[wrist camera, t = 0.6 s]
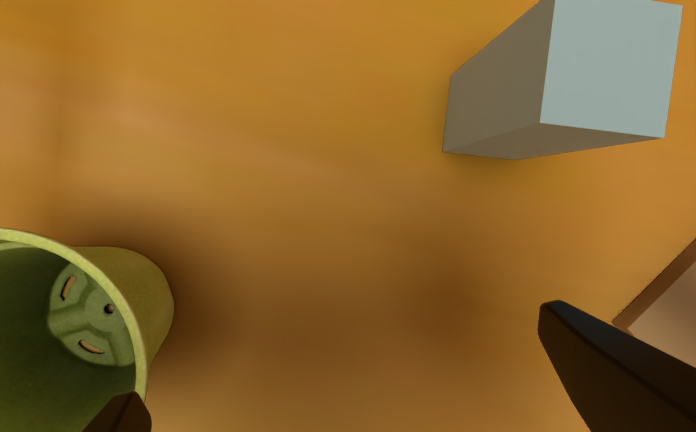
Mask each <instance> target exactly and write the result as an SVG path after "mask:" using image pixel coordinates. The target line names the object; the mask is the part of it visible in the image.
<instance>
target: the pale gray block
mask: <svg viewBox="0 0 696 432" xmlns="http://www.w3.org/2000/svg"><path fill="white" fill-rule="evenodd" d="M682 8H683V5H676V4H670V3H663V2H656V1H650V0H540V1H539V2H538V3H537V4H535V5H534V6H533V7H532V8H531V9H530V10H528V11H527V12H526V13H525V14H524V15H522V16H521V17H520V18H519V19H518V20H516V21H515V22H514V23H513V24H512V25H510V26H509V27H508V28H507V29H506V30H504V31H503V32H502V33H501V34H500V35H498V36H497V37H496V38H495V39H494V40H493V41H491V42H490V43H489V44H488V45H487V46H485V47H484V48H483V49H482V50H481V51H479V52H478V53H477V54H476V55H475V56H473V57H472V58H471V59H470V60H469V61H467V62H466V63H465V64H464V65H463V66H461V67H460V68H459V69H458V70H457V71H456V72H454V73H453V74H452V75H451V80H450V89H449V97H448V106H447V115H446V123H445V132H444V140H443V149H442V152H449V153H457V154H466V155H475V156H483V157H492V158H501V159H509V160H519V159H526V158H533V157H540V156H546V155H553V154H560V153H567V152H573V151H580V150H587V149H594V148H600V147H607V146H614V145H621V144H627V143H634V142H641V141H648V140H654V139H661V138H664V135H665V128H666V121H667V114H668V107H669V100H670V93H671V86H672V79H673V72H674V65H675V57H676V50H677V43H678V36H679V29H680V22H681V15H682Z"/></svg>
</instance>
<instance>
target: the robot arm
mask: <svg viewBox="0 0 696 432" xmlns="http://www.w3.org/2000/svg"><path fill="white" fill-rule="evenodd" d="M538 335H539V338H540V341H541V343H542V345H543V347H544V349H545V351H546V353H547V355H548V357H549V358H550V360H551V362H552V364H553V366H554V368H555V370H556V372H557V374H558V376H559V378H560V380H561V382H562V384H563V386H564V388H565V390H566V392H567V393H568V395H569V397H570V399H571V401H572V403H573V404H574V406H575V407H576V409H577V411H578V412H579V414H580V415H581V417H582V418H583V420H584V421H585V423H586V425H587V426H588V428H589V429H590V431H591V432H696V368H695V367H693V366H691V365H689V364H687V363H685V362H683V361H681V360H679V359H677V358H675V357H674V356H672V355H670V354H668V353H666V352H664V351H662V350H660V349H658V348H656V347H654V346H652V345H650V344H648V343H646V342H644V341H642V340H640V339H638V338H636V337H634V336H632V335H630V334H628V333H626V332H624V331H622V330H620V329H618V328H616V327H614V326H612V325H610V324H608V323H606V322H604V321H602V320H600V319H598V318H596V317H594V316H592V315H590V314H588V313H586V312H584V311H582V310H580V309H578V308H576V307H574V306H572V305H570V304H568V303H566V302H564V301H561V300H555V301H550V302H545V303H543V304H542V305H541V306H540V312H539V321H538ZM151 427H152V421H151V416H150V413H149V411H148V410H147V408H146V406H145V404H144V403H143V401H142V399H141V397H140V395H139V394H138V393H137V392H136V391H129V392H124V393H120V394H116V395H115V396H113V397H112V398H111V399H110V400H109V401H108V402H107V404H106V405H105V406H104V407H103V408H102V409H101V410H100V411H99V413H98V414H97V415H96V416H95V417H94V418H93V419H92V420H91V421H90V423H89V424H88V425H87V426H86V427H85V428H84V429H83V430H82V431H81V432H151Z"/></svg>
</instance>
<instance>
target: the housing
mask: <svg viewBox="0 0 696 432" xmlns="http://www.w3.org/2000/svg"><path fill="white" fill-rule="evenodd" d="M612 322H613V323H614V324H615V326H616V327H617V328H618V329H620V330H622V331H624V332H626V333H628V334H630V335H632V336H634V337H636V338H638V339H640V340H642V341H644V342H646V343H648V344H650V345H652V346H654V347H656V348H658V349H660V350H662V351H664V352H666V353H668V354H670V355H672V356H674V357H675V358H677V359H679V360H681V361H683V362H685V363H687V364H689V365H691V366H693V367H695V368H696V239H695V240H694V241H693V242H692V243H691V244H690V245H689V246H688V247H687V248H686V249H685V250H684V251H683V252H682V253H681V254H680V255H679V256H678V257H677V258H676V259H675V260H674V261H673V262H672V263H671V264H670V265H669V266H668V267H667V268H666V269H665V270H664V271H663V272H662V273H661V274H660V275H659V276H658V277H657V278H656V279H655V280H654V281H653V282H652V283H651V284H650V285H649V286H648V287H647V288H646V289H645V290H644V291H643V292H642V293H641V294H640V295H639V296H638V297H637V298H636V299H635V300H634V301H633V302H632V303H631V304H630V305H629V306H628V307H627V308H626V309H625V310H624V311H623V312H621V313H620V314H619V315H618V316H617V317H616V318H615V319H614V320H613V321H612Z"/></svg>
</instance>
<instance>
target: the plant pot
mask: <svg viewBox="0 0 696 432" xmlns="http://www.w3.org/2000/svg"><path fill="white" fill-rule="evenodd" d="M71 276H75V277H76V280H75V282H74V283H73V284H72V286H71V287H70V288H69V291H68V293H67V296H66V298H65V300H62V298H61V296H60V294H61V291H62V288H63V286H64V284H65V282H66V281H67V279H68V278H69V277H71ZM107 304H111V305H113V306H114V311H113V313H111V314H107V313H105V311H104V307H105V306H106V305H107ZM173 316H174V301H173V297H172V294H171V291H170V288H169V285H168V282H167V280H166V277H165V275H164V274H163V272H162V271H161V270H160V269H159V267H158V266H156V265H155V264H154V263H153V262H152V261H151V260H150V259H148V258H147V257H145V256H143V255H141V254H139V253H137V252H135V251H132V250H128V249H124V248H118V247H74V246H68V245H66V244H64V243H62V242H60V241H57V240H54V239H52V238H49V237H46V236H43V235H39V234H36V233H32V232H28V231H22V230H16V229H11V228H0V432H81V431H82V430H83V429H84V428H85V427H86V426H87V425H88V424H89V423H90V421H91V420H92V419H93V418H94V417H95V416H96V415H97V414H98V413H99V411H100V410H101V409H102V408H103V407H104V406H105V405H106V404H107V402H108V401H109V400H110V399H111V398H112V397H113V396H115V395H116V394H120V393H124V392H129V391H136V392H137V393H138V394H139V395H140V397H141V399H142V401H143V403H145V399H146V393H147V387H148V378H149V367H150V365H151V363H152V361H153V359H154V357H155V355H156V354H157V352H158V350H159V348H160V346H161V345H162V343H163V341H164V339H165V338H166V336H167V334H168V332H169V330H170V327H171V324H172V320H173ZM80 340H84V341H85V342H86V343H88V344H90V345H92V346H94V347H95V348H99V350H103V351H104V353H102V354H95V353H91V352H88V351H86V350H85V349H83V348H82V347H81V346H80V345H79V343H78V342H79V341H80Z"/></svg>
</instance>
